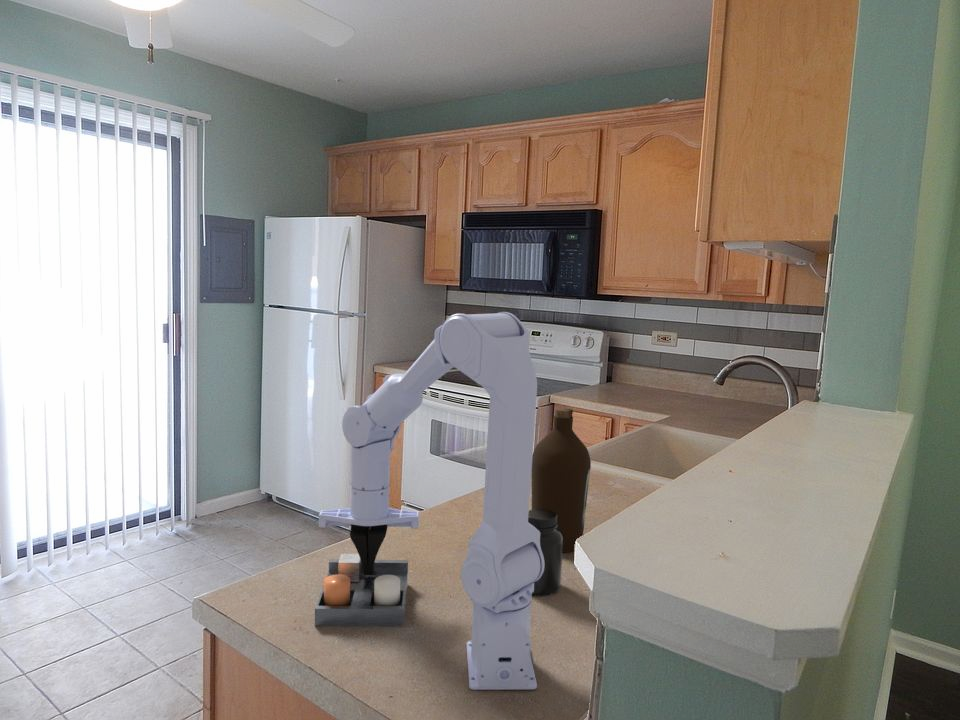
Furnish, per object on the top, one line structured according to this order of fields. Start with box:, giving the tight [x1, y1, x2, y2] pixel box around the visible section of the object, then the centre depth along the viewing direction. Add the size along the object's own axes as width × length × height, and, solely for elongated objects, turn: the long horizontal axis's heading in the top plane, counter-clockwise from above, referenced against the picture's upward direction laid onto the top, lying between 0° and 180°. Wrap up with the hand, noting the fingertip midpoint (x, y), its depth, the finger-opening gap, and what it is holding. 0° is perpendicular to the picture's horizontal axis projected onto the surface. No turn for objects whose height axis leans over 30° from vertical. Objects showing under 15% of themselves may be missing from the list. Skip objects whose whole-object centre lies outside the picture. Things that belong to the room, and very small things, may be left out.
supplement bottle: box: [528, 508, 563, 597], centre depth 101 cm, size 7×7×12 cm
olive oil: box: [531, 406, 592, 553], centre depth 117 cm, size 11×11×25 cm
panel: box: [314, 558, 409, 627], centre depth 94 cm, size 12×12×4 cm
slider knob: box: [338, 553, 361, 582], centre depth 97 cm, size 3×3×3 cm
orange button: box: [323, 574, 350, 606], centre depth 91 cm, size 4×4×3 cm
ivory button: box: [374, 575, 400, 606], centre depth 91 cm, size 4×4×3 cm
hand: (368, 572), depth 97 cm, fingers closed
